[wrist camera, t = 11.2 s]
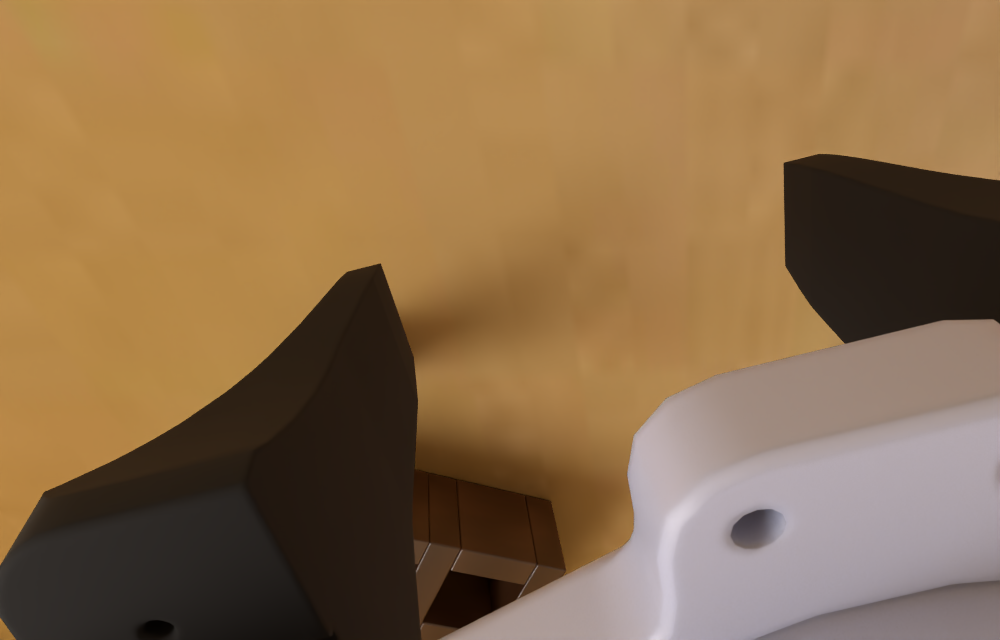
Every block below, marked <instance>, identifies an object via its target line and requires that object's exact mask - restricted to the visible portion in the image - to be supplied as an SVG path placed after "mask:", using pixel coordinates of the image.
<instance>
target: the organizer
mask: <svg viewBox="0 0 1000 640" xmlns="http://www.w3.org/2000/svg"><path fill="white" fill-rule="evenodd" d="M413 537H414V553H415V569H416V581H417V594H418V606H419V618H420V629H421V639H422V640H439V639H441V638H443V637H444V636H446V635H448V634H450V633H452V632H454V631H456V630H458V629H460V628H462V627H464V626H466V625H468V624H470V623H472V622H474V621H476V620H478V619H480V618H482V617H484V616H486V615H488V614H490V613H492V612H494V611H496V610H498V609H500V608H502V607H504V606H506V605H507V604H509V603H511V602H513V601H515V600H517V599H519V598H521V597H523V596H525V595H527V594H529V593H531V592H533V591H535V590H537V589H539V588H541V587H543V586H545V585H547V584H549V583H551V582H553V581H555V580H557V579H559V578H561V577H563V575H564V573H565V572H566V567H565V563H564V558H563V554H562V549H561V545H560V540H559V535H558V531H557V526H556V522H555V517H554V513H553V508H552V504H551V501H547V500H543V499H539V498H534V497H530V496H524V495H521V494H516V493H512V492H508V491H504V490H499V489H495V488H491V487H486V486H482V485H478V484H473V483H469V482H465V481H460V480H457V481H456V480H455V479H452V478H447V477H443V476H439V475H434V474H430V473H429V474H428V473H427V472H423V471H418V470H414V485H413Z"/></svg>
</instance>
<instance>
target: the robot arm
mask: <svg viewBox="0 0 1000 640" xmlns="http://www.w3.org/2000/svg"><path fill="white" fill-rule="evenodd" d="M784 212H785V266H786V268H787V269H788V271H789V273H790V274H791V276H792V277H793V279H794V281H795V282H796V284H797V286H798V287H799V289H800V290H801V292H802V293H803V295H804V296H805V298H806V299H807V301H808V302H809V304H810V305H811V306H812V308H813V309H814V310H815V311H816V312H817V313H818V314H819V316H820V317H821V318H822V319H823V320H824V321H825V322H826V323H827V324H828V326H829V327H830V328H831V329H832V330H833V331H834V332H835V333H836V334H837V336H838V337H839V338H840V339H841V340H842V341H843V342H844V343H845V344H843V345H838V346H834V347H830V348H826V349H822V350H818V351H814V352H809V353H805V354H801V355H797V356H793V357H789V358H785V359H780V360H776V361H772V362H768V363H764V364H760V365H756V366H751V367H747V368H743V369H739V370H735V371H731V372H727V373H722V374H718V375H715V376H713V377H711V378H709V379H706V380H704V381H702V382H700V383H698V384H696V385H694V386H691V387H689V388H687V389H685V390H683V391H681V392H678V393H676V394H674V395H672V396H670V397H668V398H666V399H665V400H664V401H663V402H662V404H661V405H660V406H659V407H658V408H657V409H656V410H655V412H654V413H653V414H652V415H651V416H650V417H649V418H648V420H647V421H646V422H645V423H644V424H643V425H642V426H641V428H640V429H639V430H638V431H637V432H636V433H635V434H634V437H633V443H632V449H631V455H630V461H629V466H628V472H627V476H628V482H629V487H630V493H631V498H632V504H633V510H634V530H633V533H632V536H631V538H630V539H629V540H628V541H627V542H626V543H625V544H624V545H623V546H622V547H620V548H618V549H616V550H614V551H612V552H610V553H608V554H606V555H604V556H602V557H600V558H598V559H596V560H594V561H592V562H590V563H588V564H586V565H584V566H582V567H580V568H578V569H576V570H574V571H572V572H570V573H569V574H567V575H565V576H563V577H561V578H559V579H557V580H555V581H553V582H551V583H549V584H547V585H545V586H543V587H541V588H539V589H537V590H535V591H533V592H531V593H529V594H527V595H525V596H523V597H521V598H519V599H517V600H515V601H513V602H511V603H509V604H507V605H506V606H504V607H502V608H500V609H498V610H496V611H494V612H492V613H490V614H488V615H486V616H484V617H482V618H480V619H478V620H476V621H474V622H472V623H470V624H468V625H466V626H464V627H462V628H460V629H458V630H456V631H454V632H452V633H450V634H448V635H446V636H444V637H443V638H441V639H439V640H1000V181H999V180H991V179H984V178H976V177H969V176H961V175H954V174H948V173H942V172H935V171H929V170H924V169H918V168H912V167H907V166H901V165H896V164H890V163H885V162H879V161H874V160H868V159H862V158H856V157H849V156H842V155H831V154H817V155H813V156H809V157H805V158H801V159H797V160H793V161H789V162H785V163H784ZM417 411H418V397H417V385H416V375H415V366H414V357H413V354H412V351H411V348H410V345H409V343H408V340H407V337H406V334H405V331H404V328H403V326H402V323H401V320H400V317H399V314H398V311H397V309H396V306H395V303H394V300H393V297H392V294H391V291H390V289H389V286H388V283H387V280H386V277H385V274H384V272H383V269H382V266H381V264H377V265H373V266H369V267H365V268H361V269H357V270H353V271H349V272H347V273H345V274H344V275H343V276H342V277H341V278H340V279H339V280H338V281H337V282H336V283H335V285H334V286H333V287H332V288H331V289H330V290H329V291H328V293H327V294H326V295H325V296H324V297H323V298H322V300H321V301H320V302H319V303H318V304H317V305H316V306H315V308H314V309H313V310H312V311H311V312H310V313H309V314H308V316H307V317H306V318H305V319H304V320H303V321H302V322H301V324H300V325H299V326H298V327H297V328H296V329H295V330H294V331H293V332H292V333H291V334H290V335H289V336H288V337H287V338H286V339H285V340H284V341H283V342H282V343H281V344H280V345H279V346H278V347H277V348H276V349H275V350H274V351H273V352H272V353H271V354H270V355H269V356H268V357H267V358H266V359H265V360H264V361H263V362H262V363H261V364H260V365H258V366H257V367H256V368H255V369H254V370H253V371H252V372H250V373H249V374H248V375H247V376H245V377H244V378H243V379H242V380H241V381H239V382H238V383H237V384H236V385H234V386H233V387H232V388H231V389H229V390H228V391H227V392H225V393H224V394H223V395H221V396H220V397H218V398H217V399H215V400H214V401H213V402H211V403H210V404H208V405H207V406H205V407H204V408H202V409H201V410H199V411H198V412H197V413H195V414H194V415H192V416H191V417H189V418H188V419H186V420H185V421H183V422H182V423H180V424H179V425H177V426H175V427H174V428H172V429H170V430H169V431H167V432H165V433H164V434H162V435H160V436H158V437H157V438H155V439H153V440H151V441H150V442H148V443H146V444H144V445H142V446H140V447H139V448H137V449H135V450H133V451H131V452H129V453H128V454H126V455H124V456H122V457H120V458H118V459H116V460H114V461H112V462H110V463H108V464H105V465H103V466H101V467H99V468H97V469H95V470H92V471H90V472H88V473H86V474H84V475H81V476H79V477H77V478H75V479H73V480H71V481H68V482H66V483H64V484H62V485H60V486H57V487H55V488H53V489H50V490H48V491H46V492H44V493H43V495H42V497H41V499H40V500H39V502H38V504H37V505H36V507H35V509H34V510H33V512H32V514H31V515H30V517H29V519H28V520H27V522H26V524H25V525H24V527H23V529H22V530H21V532H20V534H19V535H18V537H17V539H16V540H15V542H14V544H13V545H12V547H11V549H10V550H9V552H8V554H7V555H6V557H5V559H4V560H3V562H2V564H1V565H0V618H1V619H2V620H3V622H4V623H5V625H6V626H7V627H8V629H9V630H10V632H11V633H12V635H13V636H14V637H15V639H16V640H422V639H421V629H420V618H419V606H418V594H417V581H416V569H415V553H414V537H413V485H414V467H415V450H416V432H417Z"/></svg>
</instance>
